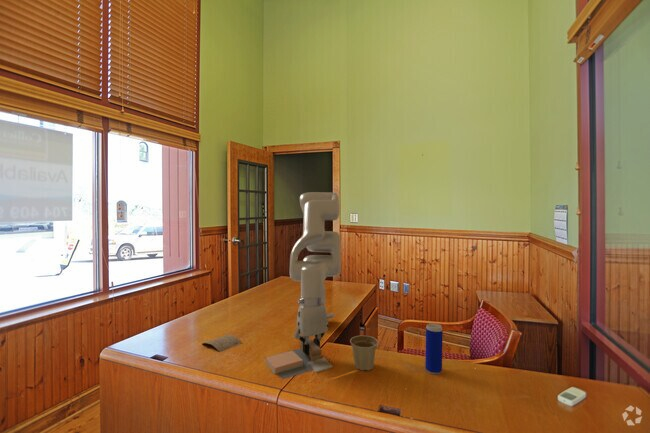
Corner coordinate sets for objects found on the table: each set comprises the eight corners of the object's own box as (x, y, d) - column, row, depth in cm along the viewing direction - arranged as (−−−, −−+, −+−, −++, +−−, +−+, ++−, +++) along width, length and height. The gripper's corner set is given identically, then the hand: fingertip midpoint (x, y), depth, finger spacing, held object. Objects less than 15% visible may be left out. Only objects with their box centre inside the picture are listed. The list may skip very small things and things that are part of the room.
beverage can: (441, 368, 105) (442, 323, 104) (442, 376, 100) (442, 329, 99) (425, 365, 106) (426, 321, 106) (425, 373, 101) (425, 327, 101)
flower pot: (346, 370, 103) (346, 344, 103) (353, 357, 112) (354, 333, 111) (374, 376, 100) (375, 349, 99) (380, 362, 108) (380, 337, 108)
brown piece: (332, 367, 104) (333, 356, 103) (315, 373, 101) (316, 361, 100) (311, 346, 116) (312, 335, 116) (296, 350, 113) (296, 339, 112)
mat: (304, 348, 119) (304, 347, 119) (326, 366, 105) (326, 365, 105) (264, 358, 110) (264, 357, 110) (282, 380, 97) (282, 379, 97)
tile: (292, 350, 111) (302, 360, 105) (292, 356, 112) (302, 365, 105) (265, 357, 106) (274, 367, 99) (265, 363, 106) (274, 374, 100)
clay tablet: (244, 346, 121) (244, 339, 121) (222, 356, 113) (222, 349, 113) (222, 337, 130) (222, 330, 130) (199, 345, 122) (199, 338, 122)
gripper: (294, 307, 102) (294, 363, 102) (337, 300, 110) (336, 351, 111) (285, 301, 108) (285, 354, 109) (326, 294, 117) (325, 343, 117)
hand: (311, 352), depth 110 cm, fingers closed on brown piece, 3 cm apart
